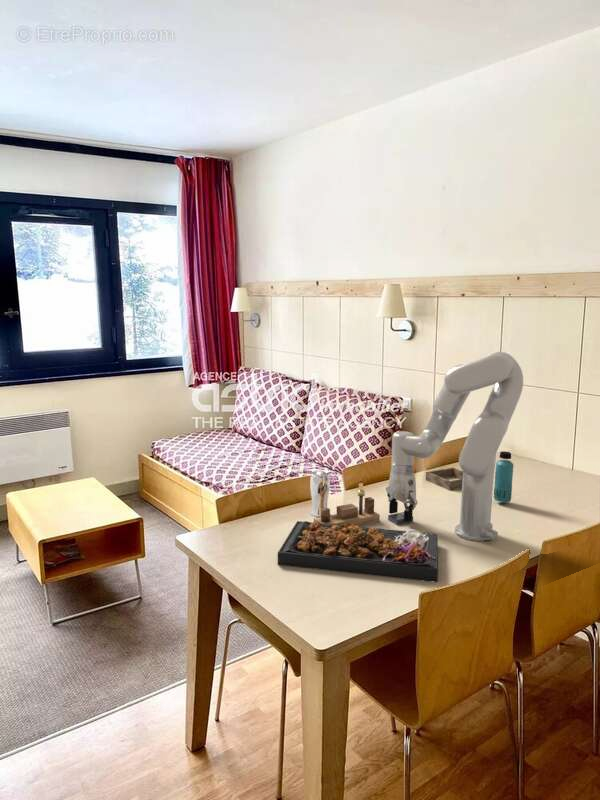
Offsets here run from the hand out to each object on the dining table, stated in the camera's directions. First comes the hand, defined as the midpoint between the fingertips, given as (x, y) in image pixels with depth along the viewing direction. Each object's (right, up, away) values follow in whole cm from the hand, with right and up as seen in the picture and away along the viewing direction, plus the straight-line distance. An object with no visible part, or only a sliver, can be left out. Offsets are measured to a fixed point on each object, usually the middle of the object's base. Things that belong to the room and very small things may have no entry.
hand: (400, 516), depth 202 cm
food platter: (-17, -7, -26) cm, 32 cm away
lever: (-14, +8, +2) cm, 16 cm away
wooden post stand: (-19, -2, -3) cm, 19 cm away
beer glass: (-28, 0, +6) cm, 28 cm away
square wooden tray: (+29, +6, +42) cm, 52 cm away
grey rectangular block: (0, -2, 0) cm, 2 cm away
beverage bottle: (+41, +1, +18) cm, 45 cm away
